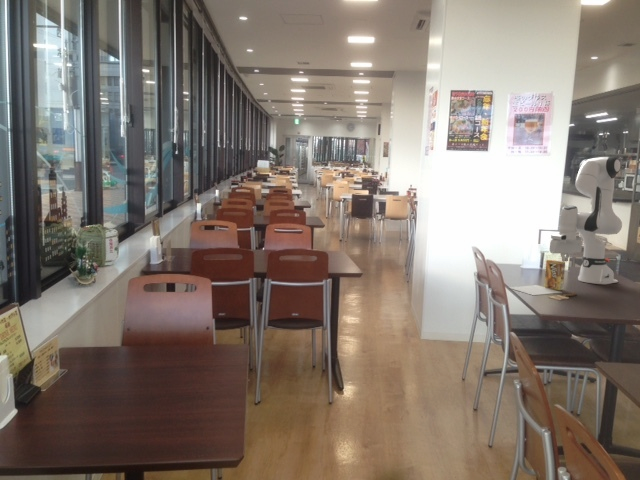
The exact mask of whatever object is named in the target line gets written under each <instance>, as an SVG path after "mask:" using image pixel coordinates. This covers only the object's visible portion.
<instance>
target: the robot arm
mask: <svg viewBox="0 0 640 480" xmlns="http://www.w3.org/2000/svg"><path fill="white" fill-rule="evenodd" d="M621 163H622V162H621V160H620V159H619V158H618V157H616V156H598V157H592V158H586V159H585V158H584V159H583V160H581V162H580V164H579V166H578V169H579V170H578V173H577V175H576V177H575V182H574V183H575V185H574V186H575V189H576V190H577V191H578V192H579V193H580V194H582V195H583V196H586V197H587V198H590V205H591V209H590V211H589V212H584V211H581V212H580V211H578V206H575V205H564V206H562V209H561V211H560V216H559V228H558V232H557V231H556V232H555V233H552V234H551V235H550V239H551V240H550V242H549V243H550V244H549V252H550V253H551V254H554V255H555V254H560V257H561V261H562V262H569V258H570V256H571V254H578V253H579V254H581V252H582V248H583V255H582V258H581V262H582V264H581V265H580V269H579V274H578V276H577V280H578V281H579V282H584V283H586V284H587V283H588V284H597V285H610V284H614V283H615V284H616V283H619V281H618V280H617V279H615V278H614V277H615V274H614V271H613V270H612V268H610V267H609V266H608V264H607V263H609V262H610V261H611V260H610V258H605V257H606V256H605V254H606V244H605V243H604V242H603V241H602V240H600V239H598V237H597V236H596V234H599V235H617V234H619V233H620V231H621V230H622V228H623V222H622V220H621V219H620V217H619V216H617V215H616V213H615V212H614V209H613V197H614V191H615V177H617V175H618V174H619V172H620V171H621V168H622V166H621V165H622V164H621ZM577 233H579V235H577ZM582 241H583V243H582ZM582 244H583V245H582Z"/></svg>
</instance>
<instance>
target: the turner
mask: <svg viewBox="0 0 640 480" xmlns="http://www.w3.org/2000/svg"><path fill="white" fill-rule="evenodd" d="M577 295H578V293H577V292H576V291H575V292H570V293H564V294H562V295H561V294H557V295H552V296H551V295H550V296H548V298H549V299H551V300H556V301H564V300H569V299H570V297H573V296H577Z"/></svg>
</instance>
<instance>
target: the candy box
mask: <svg viewBox="0 0 640 480" xmlns="http://www.w3.org/2000/svg"><path fill="white" fill-rule="evenodd" d="M565 269H566V261H562V260H561V261H560V260H556V259H555V260H554V259H547V260H546V261H545V273H544V274H545V277H544V287H545V288H549V289H552V290H556V291H563V290H564V282H565V281H564V280H565V271H566V270H565Z"/></svg>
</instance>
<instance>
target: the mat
mask: <svg viewBox="0 0 640 480" xmlns="http://www.w3.org/2000/svg"><path fill="white" fill-rule="evenodd" d="M508 289H511V290H514V291H517V292H521V293H524V294H527V295H531V296H543V295H554V294H562V293H563V292H562V291H560V290H555V289H549V288H545V286H542V285H538V284H534V285H522V286H520V285H519V286H509V287H508Z"/></svg>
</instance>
